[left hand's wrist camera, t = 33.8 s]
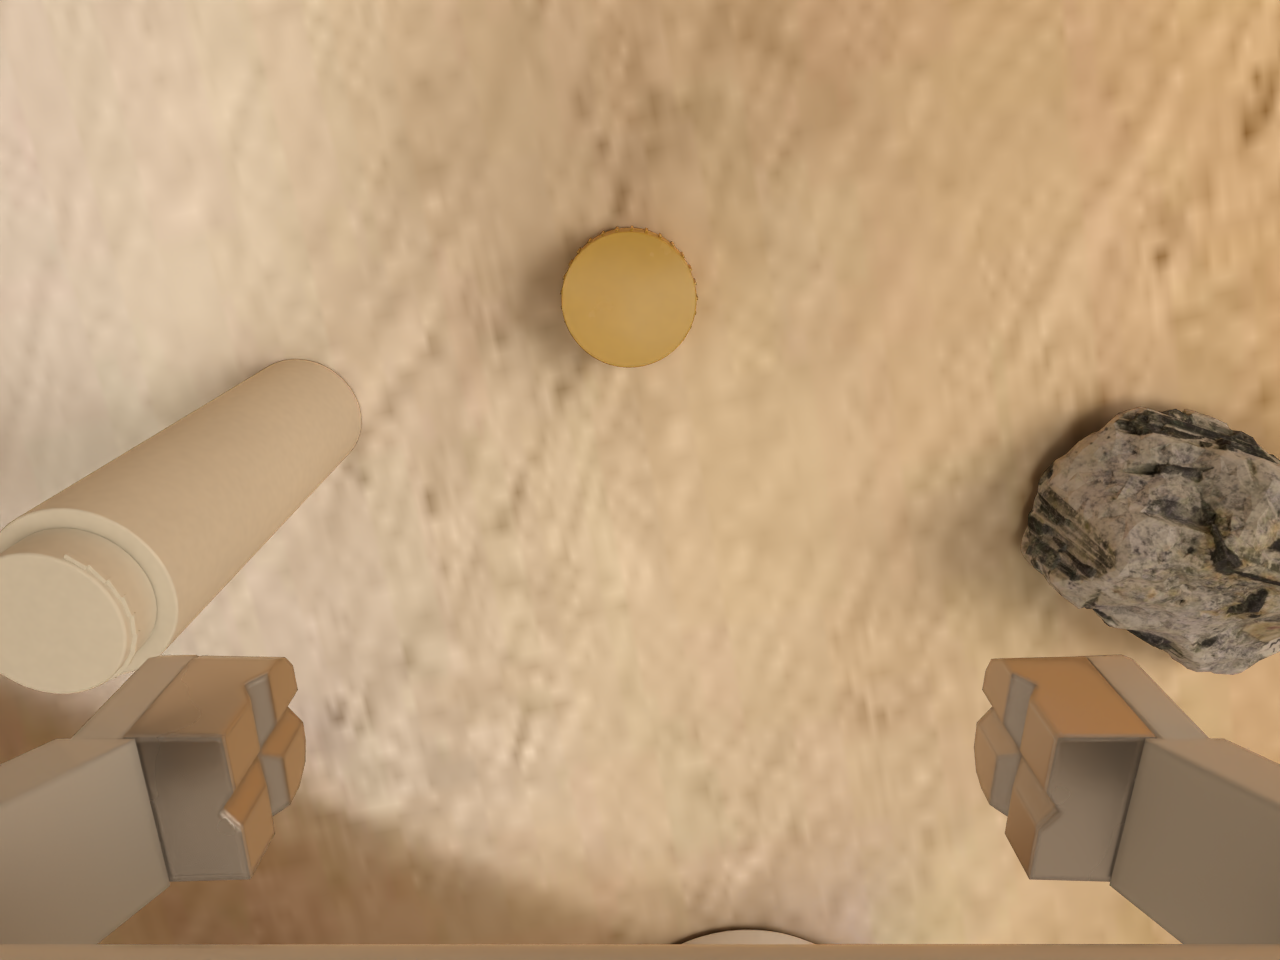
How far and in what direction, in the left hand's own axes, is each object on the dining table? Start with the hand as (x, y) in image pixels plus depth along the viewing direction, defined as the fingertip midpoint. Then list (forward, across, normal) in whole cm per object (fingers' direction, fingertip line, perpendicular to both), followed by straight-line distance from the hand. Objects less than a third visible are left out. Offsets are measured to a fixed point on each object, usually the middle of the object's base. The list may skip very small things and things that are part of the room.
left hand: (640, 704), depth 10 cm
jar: (+30, +15, +6) cm, 34 cm away
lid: (+29, 0, 0) cm, 29 cm away
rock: (+30, -25, +11) cm, 41 cm away
